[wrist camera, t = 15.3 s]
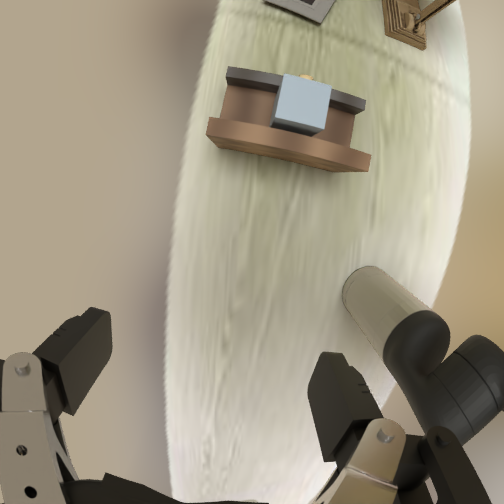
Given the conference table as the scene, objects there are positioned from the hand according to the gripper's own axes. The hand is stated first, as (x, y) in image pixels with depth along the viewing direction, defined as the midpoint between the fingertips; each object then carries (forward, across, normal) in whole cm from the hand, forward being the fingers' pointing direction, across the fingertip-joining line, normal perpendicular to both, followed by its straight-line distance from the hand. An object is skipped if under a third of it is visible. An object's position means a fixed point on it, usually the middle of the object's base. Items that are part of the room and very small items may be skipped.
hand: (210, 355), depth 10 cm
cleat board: (+34, -4, -15) cm, 37 cm away
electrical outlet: (+35, -3, -43) cm, 55 cm away
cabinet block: (+29, -4, -15) cm, 33 cm away
